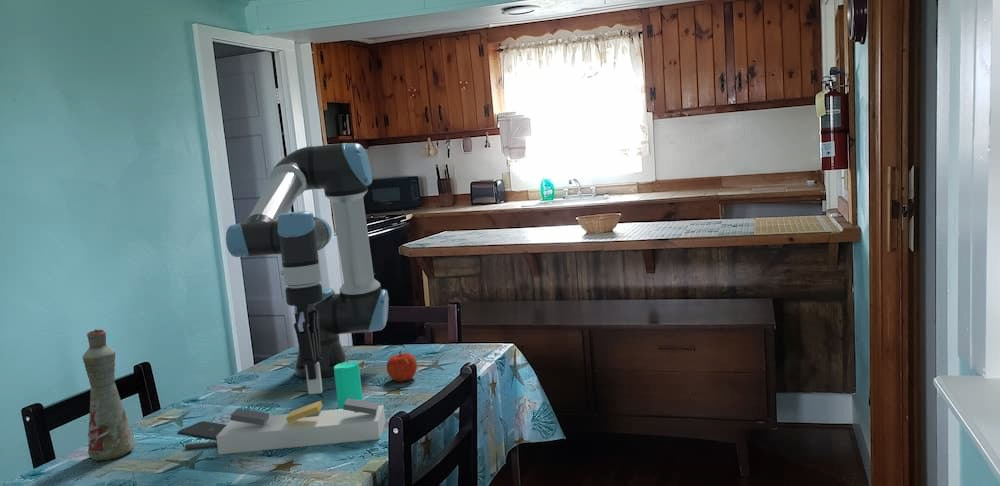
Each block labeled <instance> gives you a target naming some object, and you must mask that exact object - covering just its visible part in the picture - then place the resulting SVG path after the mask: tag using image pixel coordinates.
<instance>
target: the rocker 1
mask: <svg viewBox="0 0 1000 486" xmlns="http://www.w3.org/2000/svg"><path fill="white" fill-rule="evenodd" d="M269 416H270V413H268V412H262V411H256V410H249V409H244V408H242V409H241V408H236V409H235V410H234V411H233V412H232V413H231V414H230V421H231V420H232V421H238V422H244V423H251V424H257V425H264V424H265V423H266V421H267V420H268V419H269Z"/></svg>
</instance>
